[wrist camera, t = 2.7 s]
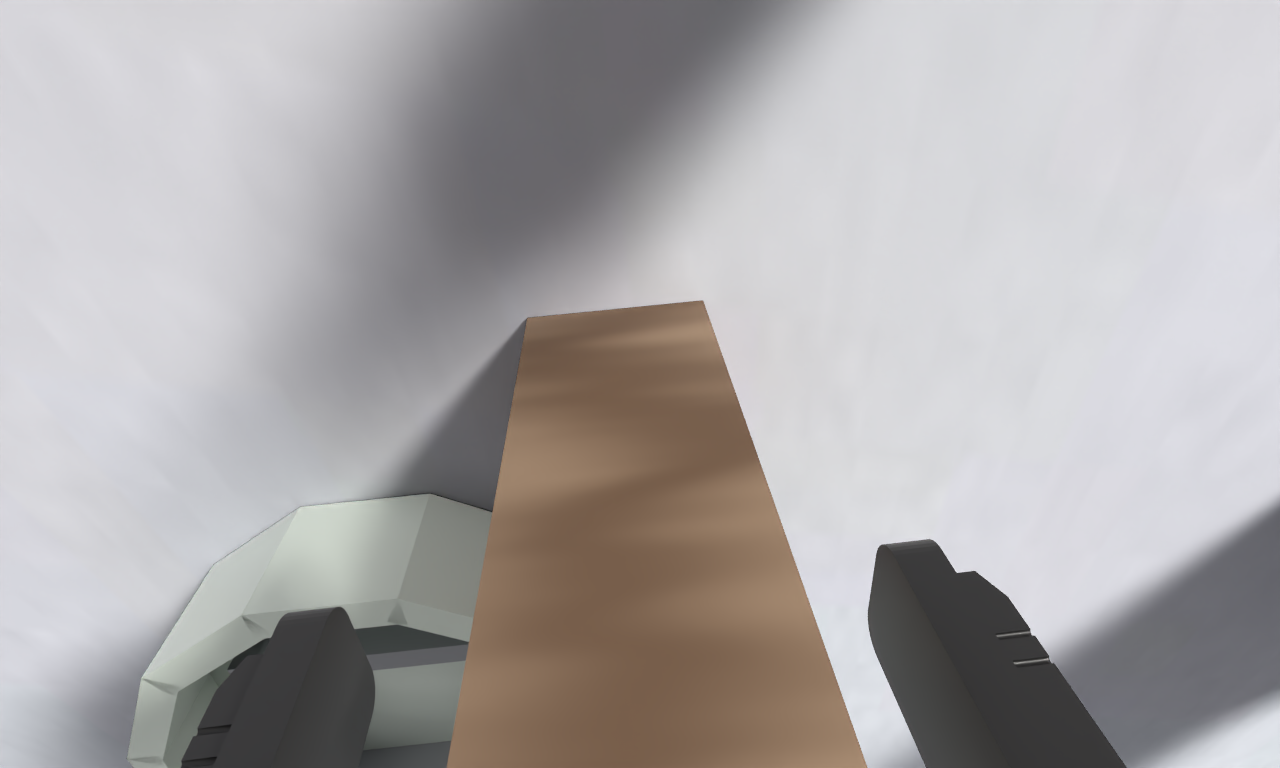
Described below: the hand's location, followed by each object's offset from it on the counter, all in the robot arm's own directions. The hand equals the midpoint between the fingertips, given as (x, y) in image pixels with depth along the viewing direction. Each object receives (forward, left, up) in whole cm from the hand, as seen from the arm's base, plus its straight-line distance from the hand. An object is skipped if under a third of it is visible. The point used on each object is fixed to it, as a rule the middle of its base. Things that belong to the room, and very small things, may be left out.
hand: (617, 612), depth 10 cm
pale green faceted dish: (+7, +9, -7) cm, 13 cm away
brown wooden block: (0, 0, -7) cm, 7 cm away
